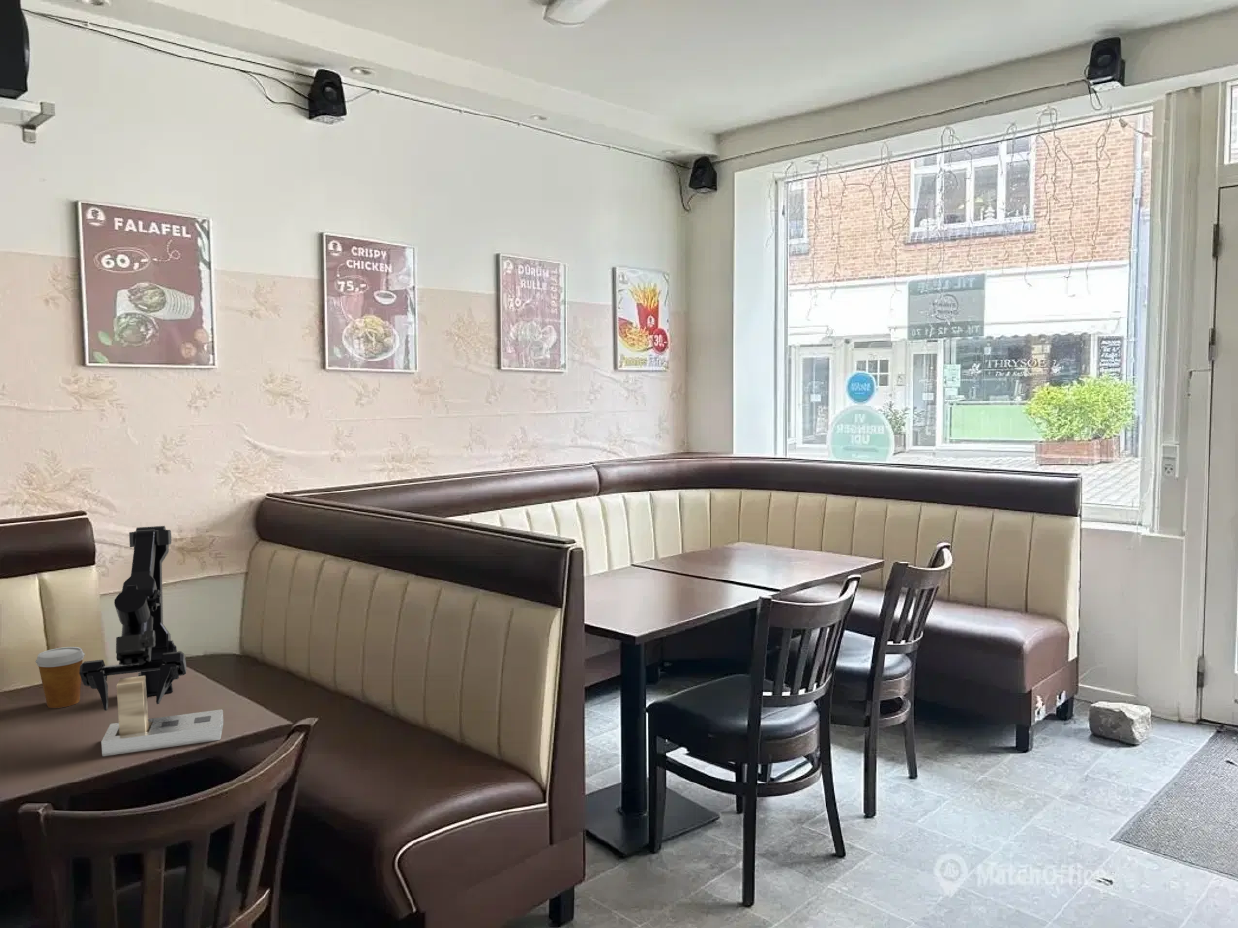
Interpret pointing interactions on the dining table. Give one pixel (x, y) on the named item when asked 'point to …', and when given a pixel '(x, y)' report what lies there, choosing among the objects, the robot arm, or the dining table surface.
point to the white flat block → (166, 733)
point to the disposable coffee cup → (61, 675)
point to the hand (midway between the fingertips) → (131, 706)
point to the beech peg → (132, 705)
